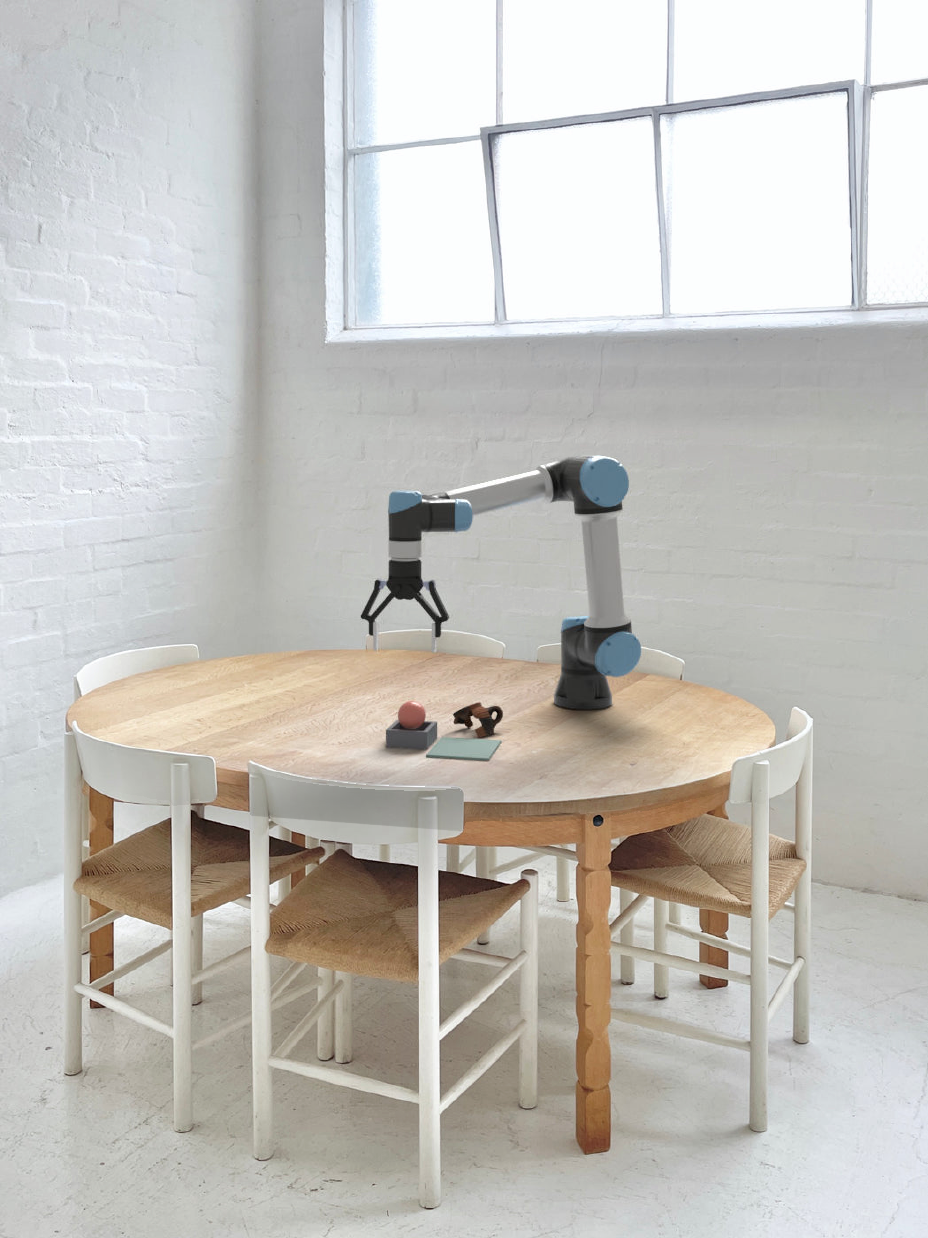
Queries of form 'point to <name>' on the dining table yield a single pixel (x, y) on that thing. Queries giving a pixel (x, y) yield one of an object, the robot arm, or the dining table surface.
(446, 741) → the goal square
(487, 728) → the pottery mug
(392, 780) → the dining table surface
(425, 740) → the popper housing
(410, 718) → the pinkish red ball
